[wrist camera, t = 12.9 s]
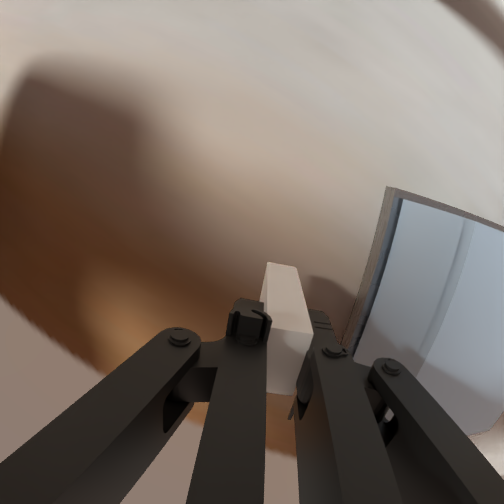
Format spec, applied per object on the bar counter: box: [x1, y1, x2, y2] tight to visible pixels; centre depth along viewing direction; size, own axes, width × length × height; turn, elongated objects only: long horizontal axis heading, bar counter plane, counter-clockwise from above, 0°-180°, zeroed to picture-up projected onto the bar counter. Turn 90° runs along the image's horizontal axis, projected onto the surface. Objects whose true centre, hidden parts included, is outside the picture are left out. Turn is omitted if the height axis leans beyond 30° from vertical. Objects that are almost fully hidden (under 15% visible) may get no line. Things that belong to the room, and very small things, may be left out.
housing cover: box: [353, 199, 504, 436], centre depth 14 cm, size 10×12×7 cm
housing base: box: [341, 186, 504, 358], centre depth 17 cm, size 20×13×4 cm, turn 80°
